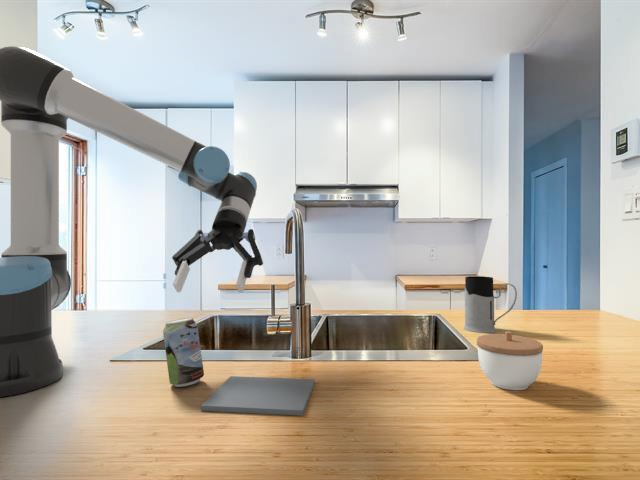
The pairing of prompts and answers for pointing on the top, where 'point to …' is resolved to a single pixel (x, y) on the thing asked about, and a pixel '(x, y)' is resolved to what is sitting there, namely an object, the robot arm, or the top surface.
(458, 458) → the top surface
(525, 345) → the lidded jar
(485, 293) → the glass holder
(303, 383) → the rubber mat
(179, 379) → the beverage can
